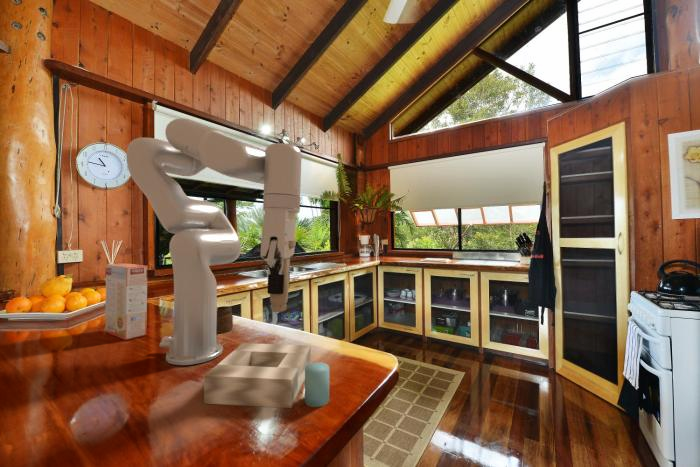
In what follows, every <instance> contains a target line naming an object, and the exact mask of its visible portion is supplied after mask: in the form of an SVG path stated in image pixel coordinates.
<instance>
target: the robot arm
mask: <svg viewBox="0 0 700 467" xmlns="http://www.w3.org/2000/svg"><path fill="white" fill-rule="evenodd" d="M164 134H165V137H166V140H167V141H165V140H162V139H159V138H154V137H137V138H134V139H133V140H131V142H130V143H128V145H127V148H126V157H125V158H126V165H127V170H128V172H129V174H130V176H131V179H132V180H133V182H134V183H135V184H136V186H138V188H139V189H140V191H141V192H142V193H143V195H144V196H145V197H146V199H147V200H148V202H149V205H150V206H151V208H152V209H153V211H154V214H155V215H156V217H157V219H158V221H159V222H160V224H161V225H162V227H163V228H164V230H166V231H167V233H170V234H174V235H173V236H172V237H171V239H170V241H169V245H168V246H169V254H170V255H169V256H170V260H171V265H172V270H173V336H167V335H166V336H163V337H162V339H161V341H160V343H159V347H160V348H168V351H167V353H166V354H165V361H166V362H167V363H168V364H171V365H176V366H191V365H196V364H198V365H199V364H201V363H206V362H208V361H209V362H210V361H211V360H214V359H216V358H218V357H220V355H221V354H223V350H224V347H223V344H221V343H220V342H217V333H216V324H217V307H218V303H217V302H218V297H217V296H218V289H217V288H218V286H217V283H218V282H217V280H216V277H215V275H214V273H213V272H212V270H211V268H210V266H217V265H225V264H230V263H233V262H235V261H236V260H237V259H238V258H239V257H240V256H241V253H242V242H241V239H240V236H239V235H238V233H237V231H236V230H235V228H234V227H233V225H232V223H231V222H230V220H229V218H228V217H227V216H226V214H225V213H224V211H223V210H222V208H221V207H219V206H218V205H217V204H215V203H214V202H211V201H208V200H201V199H200V200H199V199H193V198H191V197H188V195H187V194H186V193H185V192H184V190H183V188H182V187H181V185H180V184H179V183H178V182H177V181H176V180H175V179H174V178H173V177H171V175H175V176H181V177H192V176H195V175H197V174H199V173H200V172H202V171H204V170H205V169H206V168H208V169H210V170H212V171H215V172H217V173H219V174H222V175H223V176H226V177H229V178H234V179H237V180H243V181H248V182H252V183H255V184H261V185H263V203H262V211H263V212H264V215H263V221H262V230H261V241H260V258H261V259H263V260H265V259H266V263H267V294H268V295H270V294H283V293H284V274H283V264H284V259H286V258H288V265H289V284H290V282H291V281H290V278H291V277H290V276H291V271H290V270H291V257H292V256H294V254H295V248H296V246H295V247H294V248H292V249H289V241H291V240H296V213H300V211H301V209H300V207H301V206H300V205H301V186H302V185H301V181H302V179H301V178H302V152H301V150H300V148H298V146H295V145H294V144H289V143H282V142H281V143H279V142H278V143H277V142H275V143H271V144H268V145H267V147H265V149H263V148H260V147H259V146H258V147H257V146H254V145H252V144H250V143H246V142H243V141H241V140H238V139H235V138H232V137H230V136H227V135H226V133H224V132H223V131H221V130H219V129H216V128H213V127H211V126H208V125H205V124H203V123H200V122H198V121H195V120H192V119H189V118H175V119H173V120H171V121H170V122H169V123H168V124H166V127H165V132H164ZM168 174H171V175H168ZM280 252H281V254H280ZM276 256H280V257H281V259H276ZM278 262H280V264H278Z"/></svg>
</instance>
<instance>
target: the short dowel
mask: <svg viewBox="0 0 700 467" xmlns="http://www.w3.org/2000/svg"><path fill="white" fill-rule="evenodd" d="M329 401H330V365H329V364H328V363H325V362H320V361H319V362H316V361H315V362H310V364H308V365H307V366H306V367H305V380H304V403H305V404H306V406H308V407H312V408H320V407H323V406H325V405H327V404H328V403H329Z"/></svg>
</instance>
